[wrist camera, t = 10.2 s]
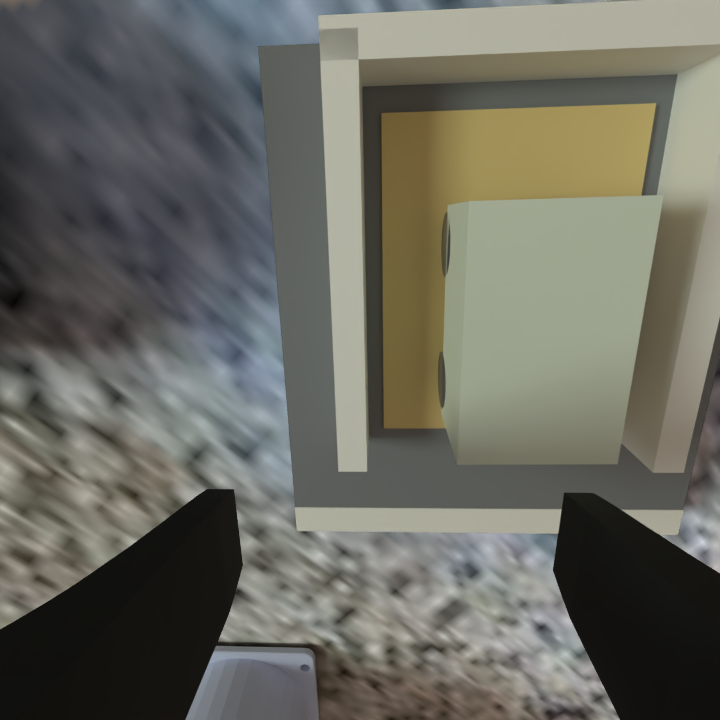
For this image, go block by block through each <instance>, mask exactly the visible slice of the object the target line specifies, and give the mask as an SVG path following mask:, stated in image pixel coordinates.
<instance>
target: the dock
mask: <svg viewBox="0 0 720 720" xmlns="http://www.w3.org/2000/svg"><path fill="white" fill-rule="evenodd" d="M318 19H319V42H320V44H302V45H279V46H258V51H259V63H260V76H261V88H262V100H263V113H264V125H265V138H266V150H267V163H268V175H269V187H270V200H271V212H272V225H273V237H274V249H275V262H276V274H277V287H278V299H279V312H280V324H281V336H282V349H283V361H284V374H285V386H286V398H287V411H288V423H289V436H290V448H291V461H292V473H293V485H294V498H295V513H296V525H297V531H352V532H452V533H553V534H558V532H559V525H560V518H561V511H562V503H563V496H564V493H594V494H596V495H598V496H600V497H601V498H603V499H605V500H606V501H608V502H610V503H611V504H613V505H614V506H616V507H618V508H619V509H621V510H622V511H624V512H625V513H627V514H628V515H630V516H631V517H633V518H634V519H636V520H637V521H639V522H640V523H642V524H644V525H645V526H647V527H648V528H650V529H651V530H653V531H654V532H656V533H657V534H659V535H678V532H679V527H680V523H681V519H682V515H683V511H684V510H683V507H684V503H685V499H686V495H687V491H688V486H689V482H690V478H691V474H692V470H693V465H694V461H695V457H696V453H697V449H698V444H699V440H700V436H701V432H702V428H703V423H704V419H705V415H706V411H707V407H708V402H709V398H710V394H711V390H712V386H713V381H714V377H715V373H716V369H717V364H718V360H719V356H720V0H639V1H618V2H597V3H575V4H554V5H533V6H511V7H490V8H469V9H448V10H426V11H405V12H384V13H362V14H341V15H320V16H318ZM648 195H664V197H663V202H662V208H661V214H660V220H659V226H658V232H657V237H656V243H655V249H654V255H653V261H652V267H651V272H650V278H649V284H648V290H647V296H646V302H645V307H644V313H643V319H642V325H641V331H640V337H639V342H638V348H637V354H636V360H635V366H634V372H633V377H632V383H631V389H630V395H629V401H628V407H627V412H626V418H625V424H624V430H623V436H622V442H621V447H620V453H619V459H618V464H558V465H457V462H456V459H455V456H454V453H453V450H452V446H451V443H450V440H449V437H448V434H447V430H446V427H445V424H444V421H443V418H442V414H441V405H440V401H439V392H438V361H439V355H440V352H443V342H444V309H445V277H444V274H443V270H442V258H441V241H442V227H443V220H444V216H445V213H446V212H447V211H448V205H451V204H456V203H462V202H467V201H489V200H521V199H553V198H584V197H616V196H648Z"/></svg>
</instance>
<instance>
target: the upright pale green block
mask: <svg viewBox="0 0 720 720" xmlns="http://www.w3.org/2000/svg"><path fill="white" fill-rule="evenodd" d="M663 197H664V195H648V196H616V197H584V198H553V199H521V200H489V201H467V202H462V203H456V204H451V205H448V211H447V212H446V213H445V216H444V220H443V227H442V241H441V258H442V270H443V274H444V277H445V309H444V342H443V352H440V355H439V361H438V392H439V401H440V405H441V414H442V418H443V421H444V424H445V427H446V430H447V434H448V437H449V440H450V443H451V446H452V450H453V453H454V456H455V459H456V462H457V465H558V464H618V459H619V453H620V447H621V442H622V436H623V430H624V424H625V418H626V412H627V407H628V401H629V395H630V389H631V383H632V377H633V372H634V366H635V360H636V354H637V348H638V342H639V337H640V331H641V325H642V319H643V313H644V307H645V302H646V296H647V290H648V284H649V278H650V272H651V267H652V261H653V255H654V249H655V243H656V237H657V232H658V226H659V220H660V214H661V208H662V202H663Z"/></svg>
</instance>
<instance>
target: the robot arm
mask: <svg viewBox="0 0 720 720" xmlns="http://www.w3.org/2000/svg"><path fill="white" fill-rule="evenodd" d="M242 566H243V563H242V554H241V546H240V537H239V529H238V520H237V512H236V503H235V495H234V489H207V490H205V491H204V492H202V493H201V494H199V495H198V496H196V497H195V498H194V499H192V500H191V501H190V502H188V503H187V504H186V505H184V506H183V507H182V508H180V509H179V510H178V511H176V512H175V513H174V514H173V515H171V516H170V517H169V518H167V519H166V520H165V521H163V522H162V523H161V524H159V525H158V526H157V527H155V528H154V529H153V530H151V531H150V532H149V533H147V534H146V535H145V536H143V537H142V538H141V539H139V540H138V541H137V542H135V543H134V544H133V545H131V546H130V547H129V548H127V549H126V550H124V551H123V552H121V553H120V554H118V555H117V556H116V557H114V558H113V559H111V560H110V561H108V562H107V563H105V564H104V565H103V566H101V567H100V568H98V569H97V570H95V571H94V572H92V573H91V574H90V575H88V576H87V577H85V578H84V579H82V580H81V581H79V582H78V583H76V584H75V585H73V586H72V587H70V588H69V589H67V590H66V591H64V592H62V593H61V594H59V595H58V596H56V597H54V598H53V599H51V600H50V601H48V602H46V603H45V604H43V605H41V606H40V607H38V608H36V609H34V610H33V611H31V612H29V613H28V614H26V615H24V616H23V617H21V618H19V619H18V620H16V621H14V622H13V623H11V624H9V625H7V626H5V627H4V628H2V629H0V720H319V706H318V693H317V679H316V665H315V654H314V652H313V651H312V650H311V649H309V648H290V647H246V646H216V644H217V642H218V640H219V637H220V635H221V632H222V630H223V627H224V625H225V622H226V620H227V617H228V615H229V612H230V609H231V606H232V602H233V599H234V595H235V592H236V588H237V585H238V581H239V577H240V573H241V570H242ZM553 571H554V574H555V577H556V580H557V583H558V586H559V589H560V592H561V595H562V598H563V600H564V603H565V606H566V608H567V611H568V614H569V616H570V619H571V621H572V623H573V625H574V627H575V629H576V631H577V633H578V636H579V638H580V640H581V642H582V644H583V646H584V648H585V650H586V652H587V654H588V656H589V658H590V660H591V662H592V664H593V666H594V668H595V670H596V672H597V674H598V676H599V678H600V680H601V682H602V684H603V686H604V688H605V690H606V692H607V694H608V696H609V698H610V700H611V702H612V704H613V706H614V708H615V710H616V712H617V714H618V716H619V718H620V720H720V573H718V572H717V571H715V570H713V569H712V568H710V567H709V566H707V565H705V564H704V563H702V562H701V561H699V560H697V559H696V558H694V557H693V556H691V555H690V554H688V553H686V552H685V551H683V550H682V549H680V548H679V547H677V546H676V545H674V544H672V543H671V542H669V541H668V540H666V539H665V538H663V537H662V536H660V535H659V534H657V533H656V532H654V531H653V530H651V529H650V528H648V527H647V526H645V525H644V524H642V523H640V522H639V521H637V520H636V519H634V518H633V517H631V516H630V515H628V514H627V513H625V512H624V511H622V510H621V509H619V508H618V507H616V506H614V505H613V504H611V503H610V502H608V501H606V500H605V499H603V498H601V497H600V496H598V495H596V494H594V493H564V496H563V503H562V511H561V518H560V525H559V532H558V539H557V546H556V553H555V560H554V567H553Z"/></svg>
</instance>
